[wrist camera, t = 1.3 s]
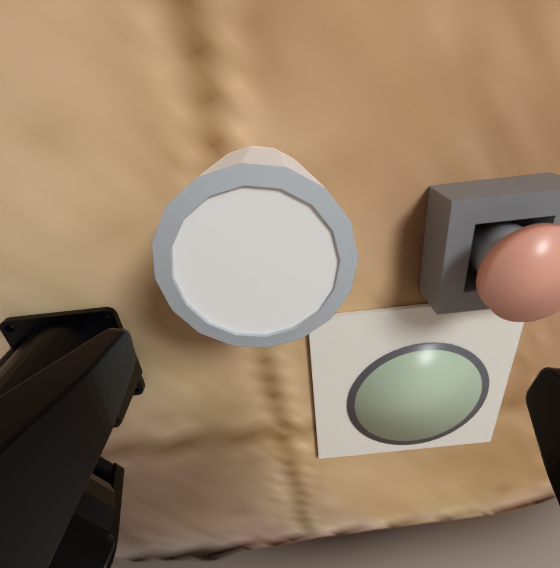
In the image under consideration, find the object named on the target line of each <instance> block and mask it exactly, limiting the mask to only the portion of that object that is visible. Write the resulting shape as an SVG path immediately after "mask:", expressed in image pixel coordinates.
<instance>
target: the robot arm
mask: <svg viewBox="0 0 560 568" xmlns="http://www.w3.org/2000/svg"><path fill="white" fill-rule="evenodd" d="M105 315H108V316H110V318H107V317H105ZM9 325H10V326H12V327H13V328H12V327H10V326H9ZM0 330H1V332H2V333H3V335H4V337H5V338H6V340H7V342H8V343H9V345H10V347H11V349H10V350H9V351H8V352H7V353H6V354H5V355H4V356H3V357H2V358H1V359H0V568H110V567H111V565H112V562H113V559H114V556H115V552H116V548H117V542H118V533H119V522H120V511H121V500H122V489H123V478H124V468H123V467H121V466H120V465H118V464H116V463H114V464H112V463H111V462H109V461H108V460H106V459H104V458H103V457H101V456H100V455H101V453H102V451H103V449H104V447H105V445H106V443H107V440H108V438H109V436H110V434H111V431H112V429H113V428H115V427H119V425H120V424H121V423H122V421H123V418H124V416H125V414H126V411H127V409H128V406H129V404H130V401H131V399H132V396H133V395H140V394H142V393H143V391H144V388H145V383H144V380H143V378H142V375H141V374H142V369H141V366H140V364H139V361H138V359H137V356H136V354H135V350H134V347H133V343H132V339H131V336H130V333H129V331H128V330H125V329H123V327H122V324H121V321H120V319H119V316H118V314H117V312H116V311H115V310H114V309H113V308H110V307H101V308H92V309H83V310H73V311H64V312H55V313H46V314H37V315H27V316H18V317H9V318H6V319H5V320H4V321H3V322H2V323H1V324H0ZM136 387H138V388H136ZM526 404H527V407H528V411H529V414H530V418H531V421H532V425H533V428H534V432H535V435H536V438H537V442H538V445H539V449H540V452H541V456H542V459H543V463H544V466H545V469H546V472H547V475H548V477H549V480H550V483H551V485H552V488H553V490H554V493H555V495H556V498H557V500H558V502H559V505H560V368H551V367H546V368H544V369H542V370H541V371H540V372H539V374H538V375H537V377H536V378H535V380H534V381H533V383H532V384H531V386H530V387H529V389H528V391H527V393H526Z"/></svg>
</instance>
